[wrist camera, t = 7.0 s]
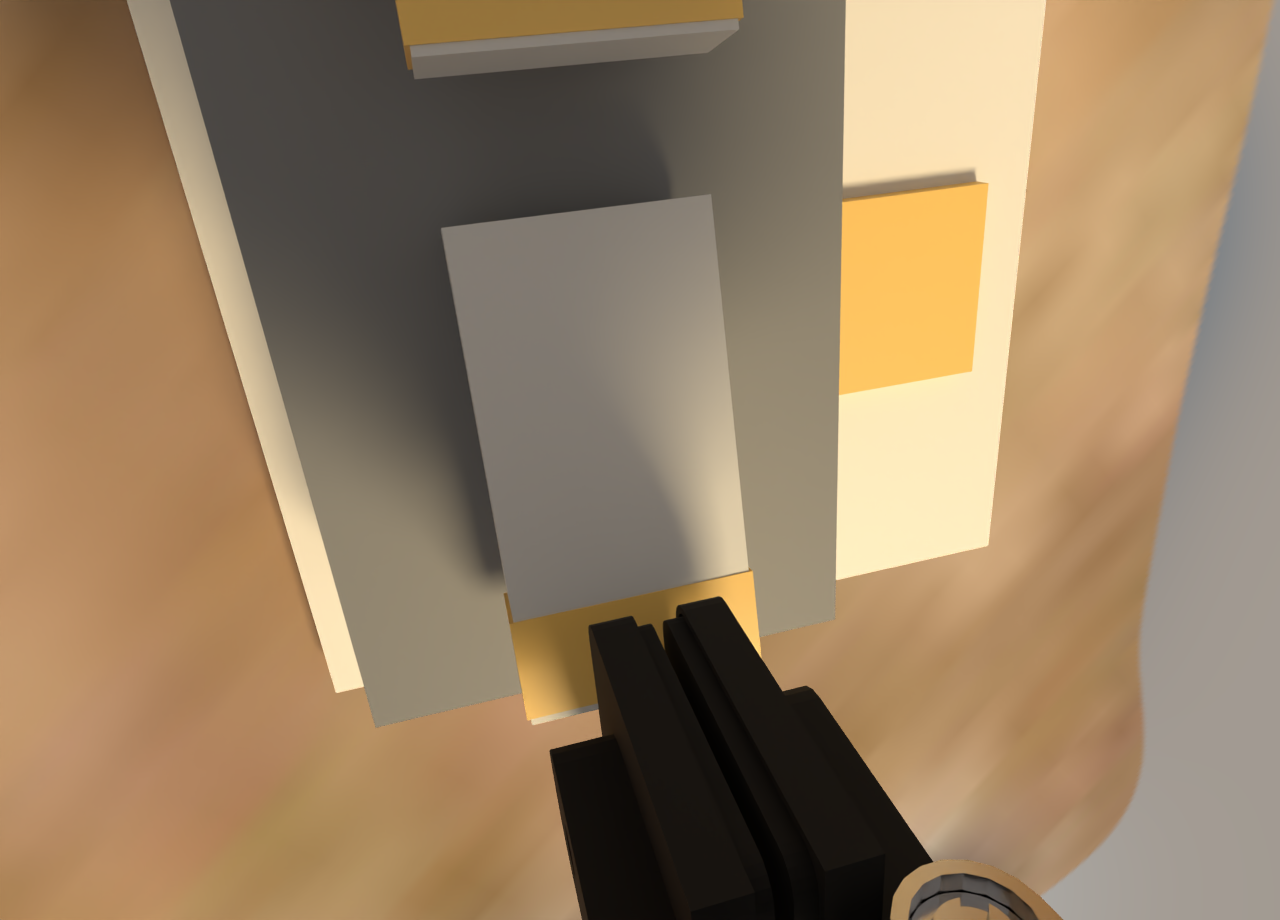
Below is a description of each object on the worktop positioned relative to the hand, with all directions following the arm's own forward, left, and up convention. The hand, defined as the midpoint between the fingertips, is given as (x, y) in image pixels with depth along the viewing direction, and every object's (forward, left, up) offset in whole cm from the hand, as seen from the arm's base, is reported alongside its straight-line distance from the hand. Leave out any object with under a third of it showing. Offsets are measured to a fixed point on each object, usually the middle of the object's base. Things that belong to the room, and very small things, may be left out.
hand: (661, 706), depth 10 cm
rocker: (-3, 0, -2) cm, 3 cm away
